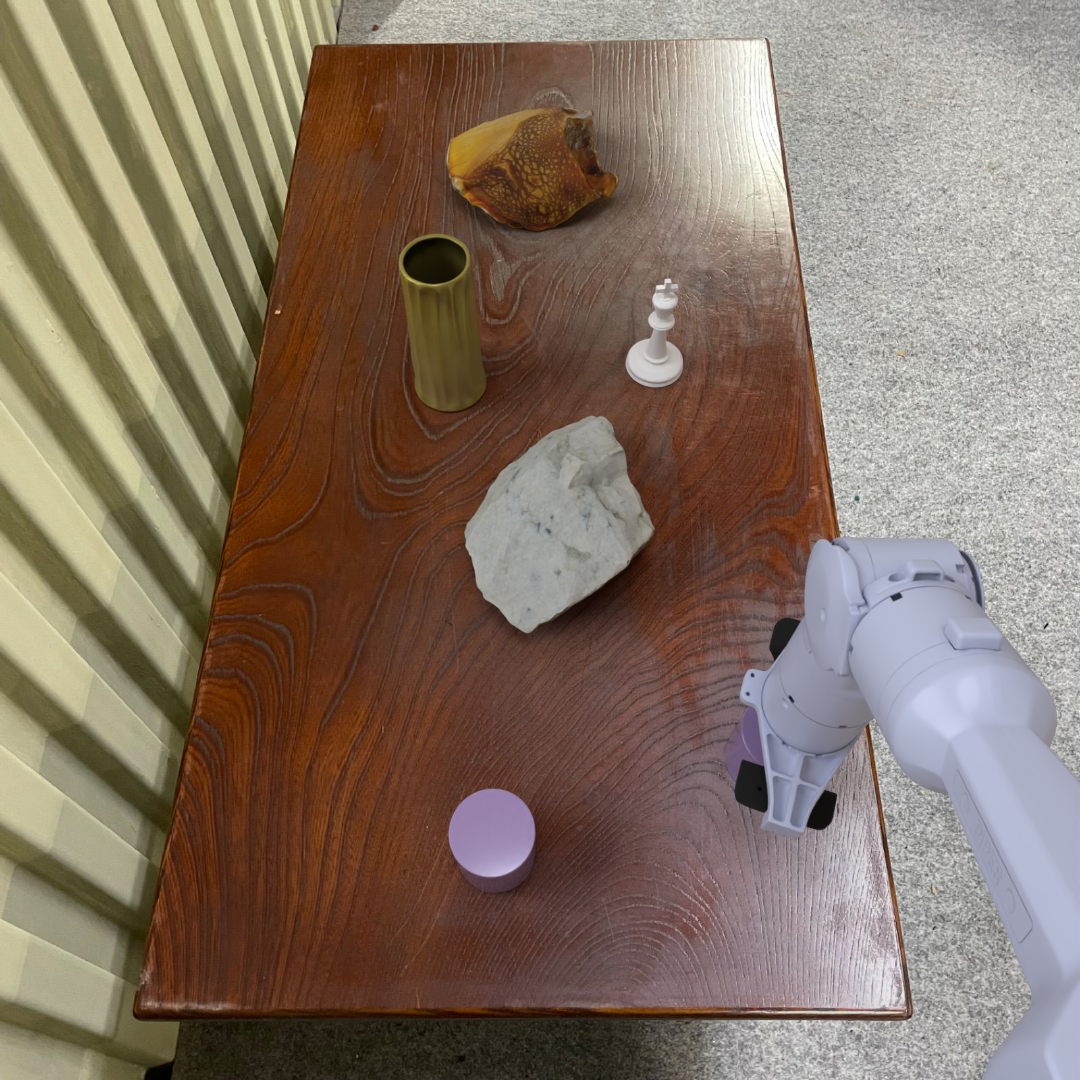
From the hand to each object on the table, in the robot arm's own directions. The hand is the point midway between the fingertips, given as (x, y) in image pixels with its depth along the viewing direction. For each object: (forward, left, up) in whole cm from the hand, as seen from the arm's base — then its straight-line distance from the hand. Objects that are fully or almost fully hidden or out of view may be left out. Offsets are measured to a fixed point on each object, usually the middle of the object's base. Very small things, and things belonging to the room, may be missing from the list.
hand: (776, 751), depth 61 cm
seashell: (+46, +38, -3) cm, 60 cm away
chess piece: (+29, +19, -3) cm, 35 cm away
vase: (+20, +34, -3) cm, 40 cm away
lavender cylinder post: (-13, +14, -3) cm, 19 cm away
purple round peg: (0, 0, -3) cm, 3 cm away
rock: (+10, +20, -3) cm, 23 cm away
